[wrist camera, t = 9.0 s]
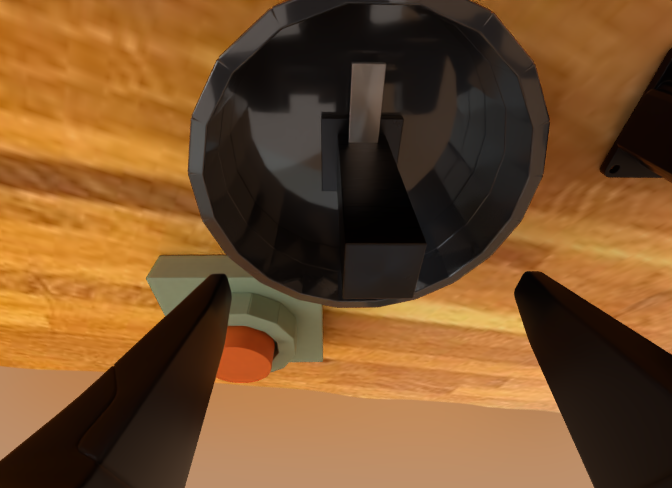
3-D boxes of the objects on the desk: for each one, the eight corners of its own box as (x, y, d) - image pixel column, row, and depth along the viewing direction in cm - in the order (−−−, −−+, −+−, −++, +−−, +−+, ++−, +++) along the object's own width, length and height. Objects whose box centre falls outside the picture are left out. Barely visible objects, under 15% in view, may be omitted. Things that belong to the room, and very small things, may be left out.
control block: (321, 254, 22) (321, 299, 19) (323, 339, 28) (322, 383, 25) (159, 254, 22) (131, 300, 19) (197, 340, 28) (181, 385, 25)
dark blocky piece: (320, 56, 14) (314, 129, 7) (410, 57, 14) (491, 131, 7) (322, 222, 20) (320, 353, 13) (386, 223, 20) (419, 352, 13)
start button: (271, 323, 21) (267, 347, 20) (277, 359, 24) (274, 382, 22) (202, 323, 21) (194, 347, 19) (217, 360, 24) (210, 383, 22)
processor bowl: (543, -18, 13) (635, -17, 9) (454, 249, 22) (481, 307, 18) (187, -25, 13) (125, -28, 9) (246, 250, 22) (228, 309, 18)
